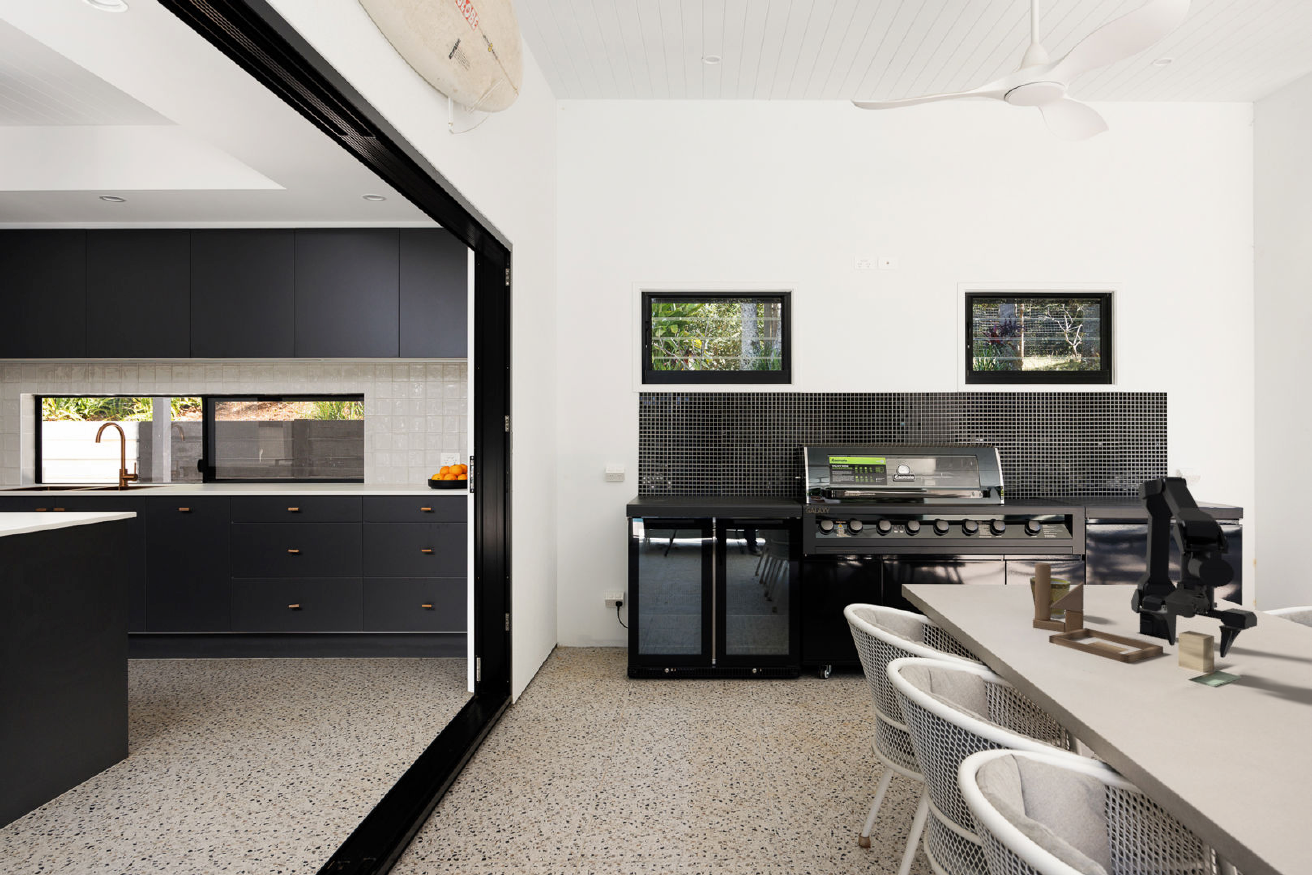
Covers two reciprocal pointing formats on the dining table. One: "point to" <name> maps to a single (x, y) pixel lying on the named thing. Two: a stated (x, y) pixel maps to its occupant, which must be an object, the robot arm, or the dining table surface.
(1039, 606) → the wooden block structure
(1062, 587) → the yellow green glass cup
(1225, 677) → the green mat
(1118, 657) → the wooden rectangular frame
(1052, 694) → the dining table surface
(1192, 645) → the beech block
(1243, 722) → the dining table surface
